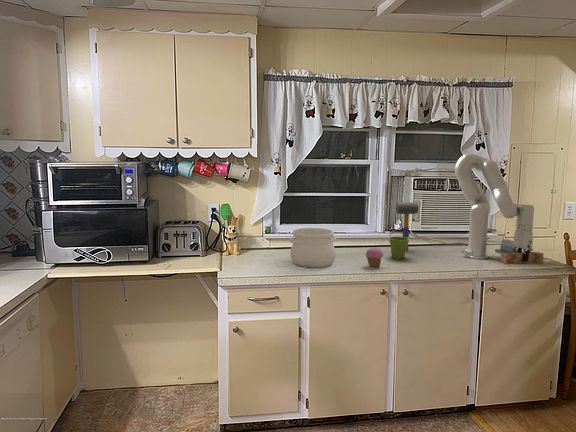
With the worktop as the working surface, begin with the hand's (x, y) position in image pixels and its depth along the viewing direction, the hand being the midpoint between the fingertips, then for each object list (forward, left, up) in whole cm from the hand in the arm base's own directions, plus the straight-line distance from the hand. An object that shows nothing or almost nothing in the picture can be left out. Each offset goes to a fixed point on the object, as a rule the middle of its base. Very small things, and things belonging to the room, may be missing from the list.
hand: (521, 259), depth 232 cm
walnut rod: (0, 0, -1) cm, 1 cm away
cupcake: (-84, 0, -2) cm, 84 cm away
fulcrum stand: (+6, +18, -1) cm, 19 cm away
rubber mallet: (-53, +34, -2) cm, 63 cm away
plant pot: (-64, +17, -2) cm, 66 cm away
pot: (-115, +10, -2) cm, 116 cm away
